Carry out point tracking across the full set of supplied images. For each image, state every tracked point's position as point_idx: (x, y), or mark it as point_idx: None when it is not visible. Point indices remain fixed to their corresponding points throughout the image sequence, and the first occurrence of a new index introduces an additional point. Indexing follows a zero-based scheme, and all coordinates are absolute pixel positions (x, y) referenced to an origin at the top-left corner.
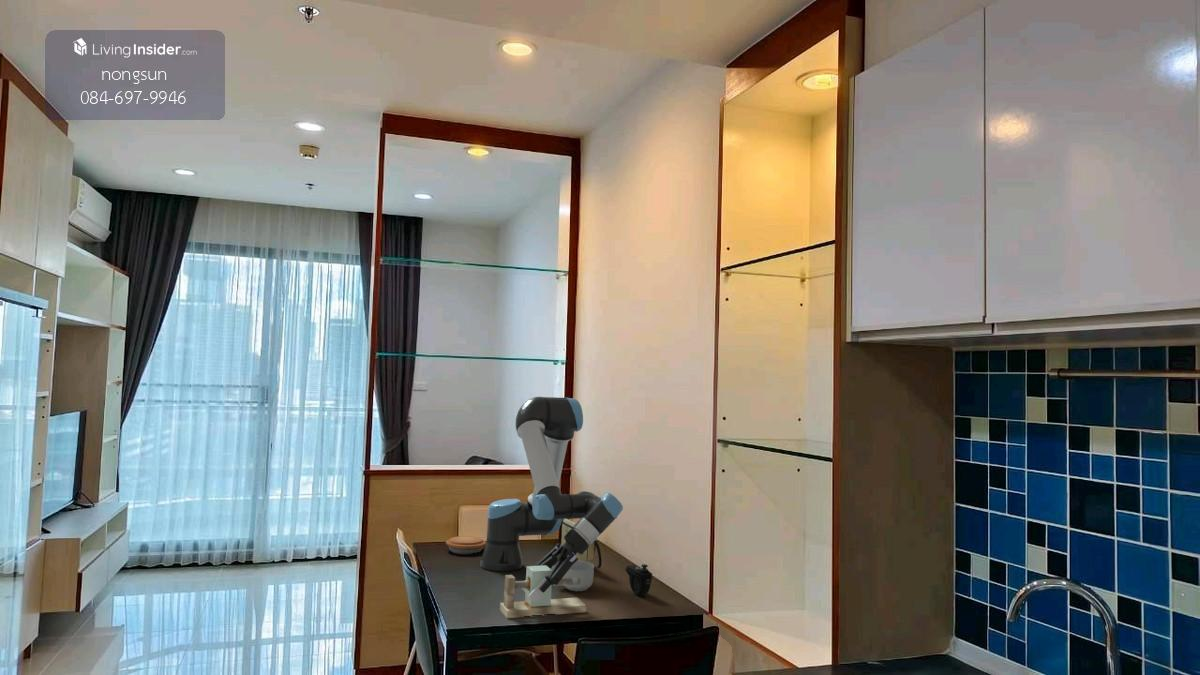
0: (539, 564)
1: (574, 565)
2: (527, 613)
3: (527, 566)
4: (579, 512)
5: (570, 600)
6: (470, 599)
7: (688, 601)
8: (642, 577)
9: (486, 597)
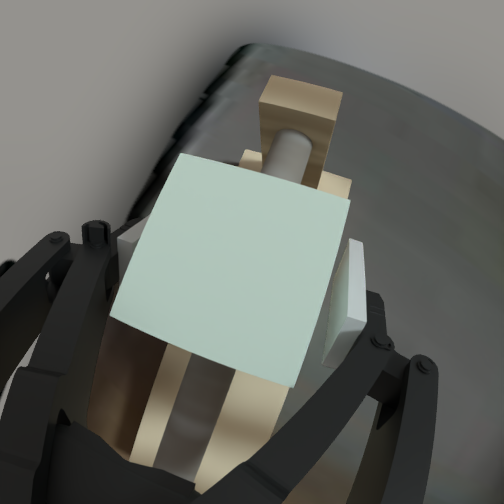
0: (404, 386)
1: None
2: None
3: (343, 203)
4: None
5: (216, 463)
6: (475, 183)
7: None
8: None
9: (482, 237)
